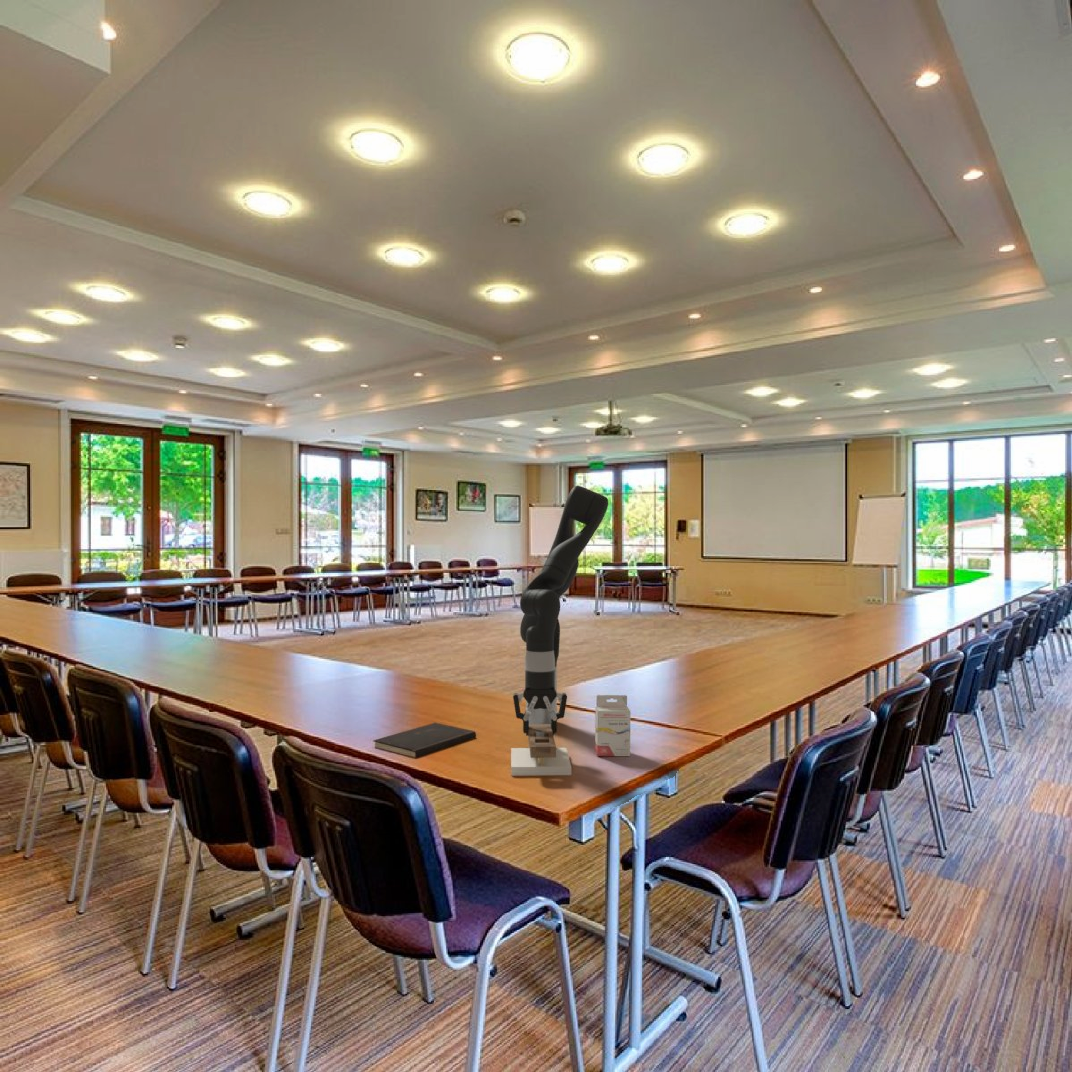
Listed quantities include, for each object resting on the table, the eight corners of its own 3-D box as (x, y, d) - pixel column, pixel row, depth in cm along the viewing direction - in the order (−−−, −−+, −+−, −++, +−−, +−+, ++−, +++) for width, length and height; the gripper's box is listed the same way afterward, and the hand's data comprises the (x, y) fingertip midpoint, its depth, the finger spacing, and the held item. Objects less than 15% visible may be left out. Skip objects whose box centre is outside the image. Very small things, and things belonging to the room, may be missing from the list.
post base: (511, 756, 176) (511, 724, 176) (566, 755, 177) (566, 724, 177) (511, 775, 161) (511, 741, 161) (571, 775, 162) (571, 740, 162)
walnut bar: (528, 734, 179) (528, 724, 179) (550, 733, 179) (550, 724, 179) (530, 757, 159) (530, 746, 159) (555, 757, 159) (555, 746, 159)
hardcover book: (373, 748, 184) (373, 740, 184) (434, 730, 202) (434, 722, 202) (415, 760, 174) (415, 751, 174) (476, 739, 193) (476, 731, 193)
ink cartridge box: (597, 757, 175) (597, 698, 175) (594, 751, 180) (594, 694, 180) (630, 757, 176) (630, 698, 176) (627, 751, 181) (627, 694, 181)
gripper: (511, 670, 172) (511, 739, 171) (569, 670, 172) (569, 738, 172) (511, 665, 179) (511, 731, 179) (567, 665, 180) (567, 730, 179)
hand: (540, 734), depth 175 cm, fingers closed on walnut bar, 5 cm apart
